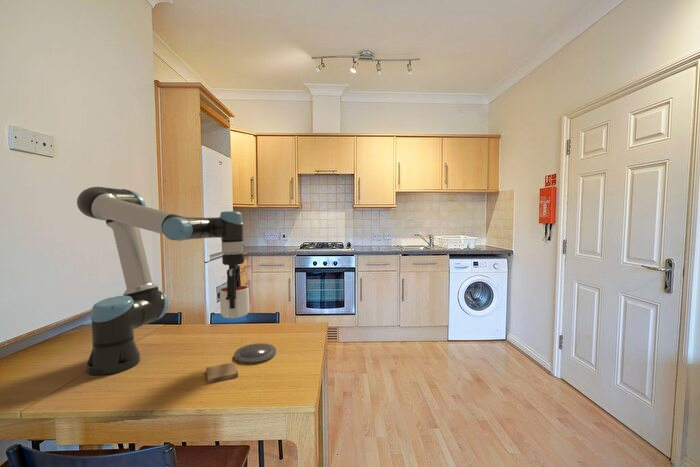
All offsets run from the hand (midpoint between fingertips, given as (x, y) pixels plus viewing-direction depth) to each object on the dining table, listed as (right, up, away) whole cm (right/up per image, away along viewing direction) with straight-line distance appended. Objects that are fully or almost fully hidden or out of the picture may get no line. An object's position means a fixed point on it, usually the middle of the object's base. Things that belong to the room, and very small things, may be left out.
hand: (235, 313), depth 117 cm
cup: (0, -1, 0) cm, 1 cm away
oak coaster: (0, -17, -12) cm, 21 cm away
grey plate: (+7, -17, +3) cm, 18 cm away
